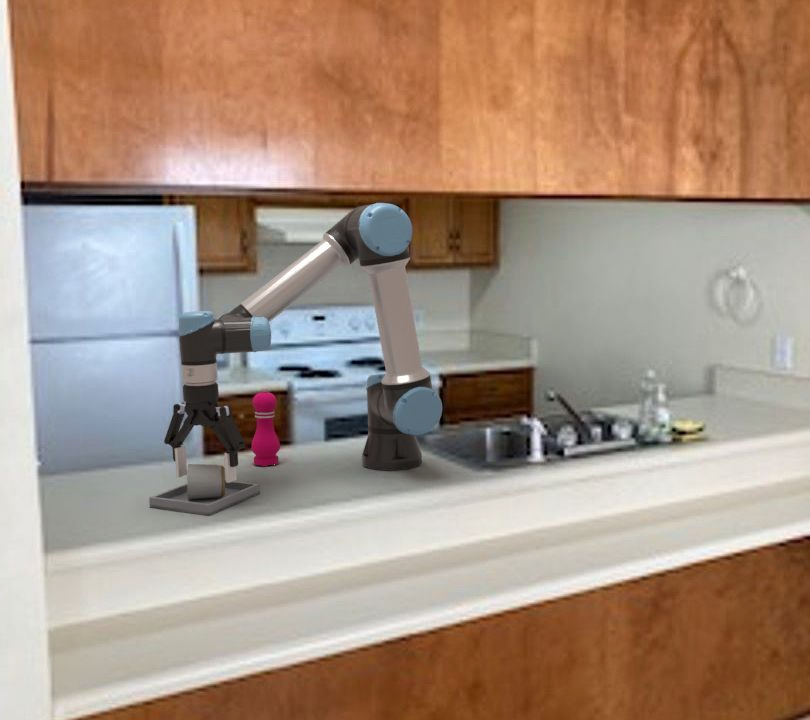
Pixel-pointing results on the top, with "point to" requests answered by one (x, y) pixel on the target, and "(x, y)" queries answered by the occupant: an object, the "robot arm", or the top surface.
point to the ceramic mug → (205, 481)
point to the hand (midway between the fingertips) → (206, 478)
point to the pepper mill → (265, 429)
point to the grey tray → (208, 506)
